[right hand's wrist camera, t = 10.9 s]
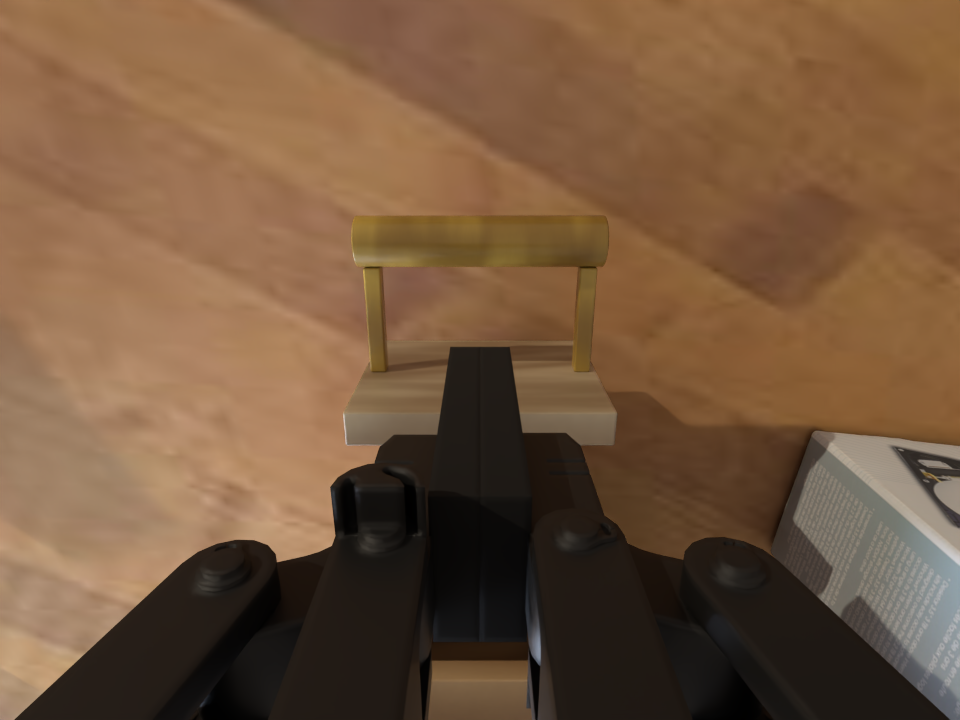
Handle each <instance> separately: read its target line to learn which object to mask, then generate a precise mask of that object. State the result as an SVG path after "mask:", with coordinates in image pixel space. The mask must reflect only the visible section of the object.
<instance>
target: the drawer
mask: <svg viewBox="0 0 960 720" xmlns="http://www.w3.org/2000/svg"><path fill="white" fill-rule="evenodd" d="M351 242H352V252H353V258H354V261H355V264H356V265H357V266H358V267H364V269H363V275H364V289H365V302H366V316H367V329H368V343H369V357H370V362H369V364H368V366H367V367H366V369H365V371H364V373H363V375H362V377H361V379H360V381H359V383H358V385H357V387H356V389H355V391H354V393H353V395H352V397H351V399H350V401H349V403H348V405H347V407H346V409H345V411H344V413H343V419H344V429H345V440H346V445H383V444H384V443H385V442H386V441H387V440H388V439H390V438H391V437H392V436H393V435H437V432H438V425H439V418H440V412H441V405H442V398H443V392H444V385H445V378H446V372H447V365H448V359H449V352H450V347H510V352H511V359H512V365H513V372H514V378H515V385H516V392H517V398H518V405H519V412H520V418H521V425H522V432H523V433H567V434H568V435H569V436H570V437H572V438H573V439H574V440H575V441H576V442H577V443H578V444H580V445H614V444H615V434H616V423H617V412H616V410H615V408H614V406H613V404H612V402H611V400H610V398H609V396H608V394H607V392H606V390H605V388H604V386H603V384H602V382H601V381H600V379H599V377H598V375H597V373H596V371H595V369H594V367H593V365H592V363H591V347H592V334H593V320H594V306H595V293H596V279H597V268H596V267H602V266H604V264H605V262H606V259H607V254H608V246H609V227H608V222H607V218H606V217H605V216H355V217H354V219H353V223H352V231H351ZM382 267H578V274H577V290H576V306H575V322H574V339H573V340H387V335H386V319H385V303H384V287H383V270H382ZM431 652H432V660H528V652H529V642H528V632H527V642H433V634H432V645H431Z"/></svg>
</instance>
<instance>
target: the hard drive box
mask: <svg viewBox="0 0 960 720" xmlns="http://www.w3.org/2000/svg"><path fill="white" fill-rule="evenodd" d="M771 553H772V555H773V556H774V557H775V559H777V560H778V561H779V562H780V563H781V564H783V565H784V566H785V567H786V568H787V569H788V570H789V571H790V572H791V573H792V574H793V575H794V576H796V577H797V578H798V579H799V580H800V581H801V582H802V583H803V584H804V585H805V586H806V587H807V588H808V589H810V590H811V591H812V592H813V593H814V594H815V595H816V596H817V597H818V598H819V599H820V600H821V601H823V602H824V603H825V604H826V605H827V606H828V607H829V608H830V609H831V610H832V611H833V612H834V613H835V614H837V615H838V616H839V617H840V618H841V619H842V620H843V621H844V622H845V623H846V624H847V625H848V626H850V627H851V628H852V629H853V630H854V631H855V632H856V633H857V634H858V635H859V636H860V637H861V638H863V639H864V640H865V641H866V642H867V643H868V644H869V645H870V646H871V647H872V648H873V649H874V650H875V651H877V652H878V653H879V654H880V655H881V656H882V657H883V658H884V659H885V660H886V661H887V662H888V663H890V664H891V665H892V666H893V667H894V668H895V669H896V670H897V671H898V672H899V673H900V674H901V675H903V676H904V677H905V678H906V679H907V680H908V681H909V682H910V683H911V684H912V685H913V686H914V687H915V688H917V689H918V690H919V691H920V692H921V693H922V694H923V695H924V696H925V697H926V698H927V699H928V700H930V701H931V702H932V703H933V704H934V705H935V706H936V707H937V708H938V709H939V710H940V711H941V712H943V713H944V714H945V715H946V716H947V717H948V718H949V719H950V720H960V446H953V445H945V444H936V443H927V442H918V441H910V440H906V439H901V438H888V437H880V436H867V435H855V434H845V433H833V432H826V431H814V432H813V433H812V436H811V438H810V441H809V443H808V446H807V449H806V452H805V454H804V457H803V460H802V463H801V466H800V468H799V471H798V474H797V477H796V479H795V482H794V485H793V487H792V490H791V493H790V496H789V499H788V501H787V504H786V507H785V510H784V512H783V515H782V518H781V521H780V524H779V527H778V530H777V533H776V536H775V538H774V541H773V544H772V547H771Z"/></svg>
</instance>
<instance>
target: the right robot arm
mask: <svg viewBox="0 0 960 720" xmlns="http://www.w3.org/2000/svg"><path fill="white" fill-rule="evenodd" d="M330 488H331V497H332V507H333V516H334V525H335V535H336V537H335V539H334V542H333V545H332V546H331V547H329V548H327V549H325V550H322V551H320V552H318V553H314V554H311V555H308V556H304V557H300V558H295V559H291V560H286V561H281V562H277V560H276V554H275V553H274V552H273V551H272V550H271V548H270V547H269V546H268V545H266V544H263V543H260V542H257V541H255V540H233V541H229V542H224V543H219V544H216V545H213V546H211V547H209V548H206V549H204V550H202V551H199V552H197V553H196V554H195V555H193V556H192V557H190V558H189V559H188V560H186V561H185V562H183V563H182V564H181V565H180V566H179V567H178V568H177V569H176V570H174V571H173V572H172V573H171V574H170V575H169V576H168V577H167V578H166V579H165V580H164V581H163V582H162V583H161V584H159V585H158V586H157V587H156V588H155V589H154V590H153V591H152V592H151V593H150V594H149V595H148V596H147V597H146V598H144V599H143V600H142V601H141V602H140V603H139V604H138V605H137V606H136V607H135V608H134V609H133V610H132V611H131V612H129V613H128V614H127V615H126V616H125V617H124V618H123V619H122V620H121V621H120V622H119V623H118V624H117V625H115V626H114V627H113V628H112V629H111V630H110V631H109V632H108V633H107V634H106V635H105V636H104V637H103V638H102V639H100V640H99V641H98V642H97V643H96V644H95V645H94V646H93V647H92V648H91V649H90V650H89V651H88V652H87V653H85V654H84V655H83V656H82V657H81V658H80V659H79V660H78V661H77V662H76V663H75V664H74V665H73V666H72V667H70V668H69V669H68V670H67V671H66V672H65V673H64V674H63V675H62V676H61V677H60V678H59V679H58V680H57V681H55V682H54V683H53V684H52V685H51V686H50V687H49V688H48V689H47V690H46V691H45V692H44V693H43V694H41V695H40V696H39V697H38V698H37V699H36V700H35V701H34V702H33V703H32V704H31V705H30V706H29V707H28V708H26V709H25V710H24V711H23V712H22V713H21V714H20V715H19V716H18V717H17V718H16V719H15V720H428V715H429V704H430V692H431V681H432V652H431V645H432V634H433V642H527V632H528V642H529V652H528V677H527V703H526V708H531V714H532V720H950V719H949V718H948V717H947V716H946V715H945V714H944V713H943V712H941V711H940V710H939V709H938V708H937V707H936V706H935V705H934V704H933V703H932V702H931V701H930V700H928V699H927V698H926V697H925V696H924V695H923V694H922V693H921V692H920V691H919V690H918V689H917V688H915V687H914V686H913V685H912V684H911V683H910V682H909V681H908V680H907V679H906V678H905V677H904V676H903V675H901V674H900V673H899V672H898V671H897V670H896V669H895V668H894V667H893V666H892V665H891V664H890V663H888V662H887V661H886V660H885V659H884V658H883V657H882V656H881V655H880V654H879V653H878V652H877V651H875V650H874V649H873V648H872V647H871V646H870V645H869V644H868V643H867V642H866V641H865V640H864V639H863V638H861V637H860V636H859V635H858V634H857V633H856V632H855V631H854V630H853V629H852V628H851V627H850V626H848V625H847V624H846V623H845V622H844V621H843V620H842V619H841V618H840V617H839V616H838V615H837V614H835V613H834V612H833V611H832V610H831V609H830V608H829V607H828V606H827V605H826V604H825V603H824V602H823V601H821V600H820V599H819V598H818V597H817V596H816V595H815V594H814V593H813V592H812V591H811V590H810V589H808V588H807V587H806V586H805V585H804V584H803V583H802V582H801V581H800V580H799V579H798V578H797V577H796V576H794V575H793V574H792V573H791V572H790V571H789V570H788V569H787V568H786V567H785V566H784V565H783V564H781V563H780V562H779V561H778V560H777V559H775V558H774V557H772V556H771V555H770V554H768V553H767V552H765V551H764V550H763V549H760V548H758V547H756V546H753V545H751V544H749V543H746V542H744V541H739V540H735V539H730V538H725V537H718V538H704V539H702V540H699V541H696V542H693V543H692V544H691V545H690V546H689V547H688V549H687V550H686V551H685V554H684V560H681V559H676V558H672V557H667V556H662V555H658V554H654V553H651V552H647V551H644V550H641V549H639V548H636V547H634V546H632V545H630V544H628V543H627V541H626V538H625V536H624V534H623V533H622V531H621V530H620V528H619V527H618V525H617V524H615V523H614V522H613V521H611V520H610V519H608V518H607V517H605V516H604V513H603V510H602V507H601V504H600V501H599V499H598V496H597V493H596V490H595V487H594V484H593V481H592V478H591V475H589V469H588V466H587V463H585V457H584V454H583V451H582V448H581V446H580V444H578V443H577V442H576V441H575V440H574V439H573V438H572V437H570V436H569V435H568V434H567V433H523V432H522V425H521V418H520V412H519V405H518V398H517V392H516V385H515V378H514V372H513V365H512V359H511V352H510V347H450V352H449V359H448V365H447V372H446V378H445V385H444V392H443V398H442V405H441V412H440V418H439V425H438V432H437V435H393V436H392V437H391V438H390V439H388V440H387V441H386V442H385V443H384V444H383V445H382V446H380V448H379V451H378V454H377V457H376V460H375V464H367V465H364V466H361V467H357V468H354V469H351V470H349V471H348V472H346V473H344V474H343V475H341V476H340V477H338V478H337V479H336V481H335V482H334V483H333V484H332V486H331V487H330Z"/></svg>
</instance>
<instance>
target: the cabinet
mask: <svg viewBox="0 0 960 720" xmlns="http://www.w3.org/2000/svg"><path fill="white" fill-rule="evenodd" d="M527 677H528V660H432V681H431V692H430V704H429V715H428V720H532V714H531V708H526V703H527Z"/></svg>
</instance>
